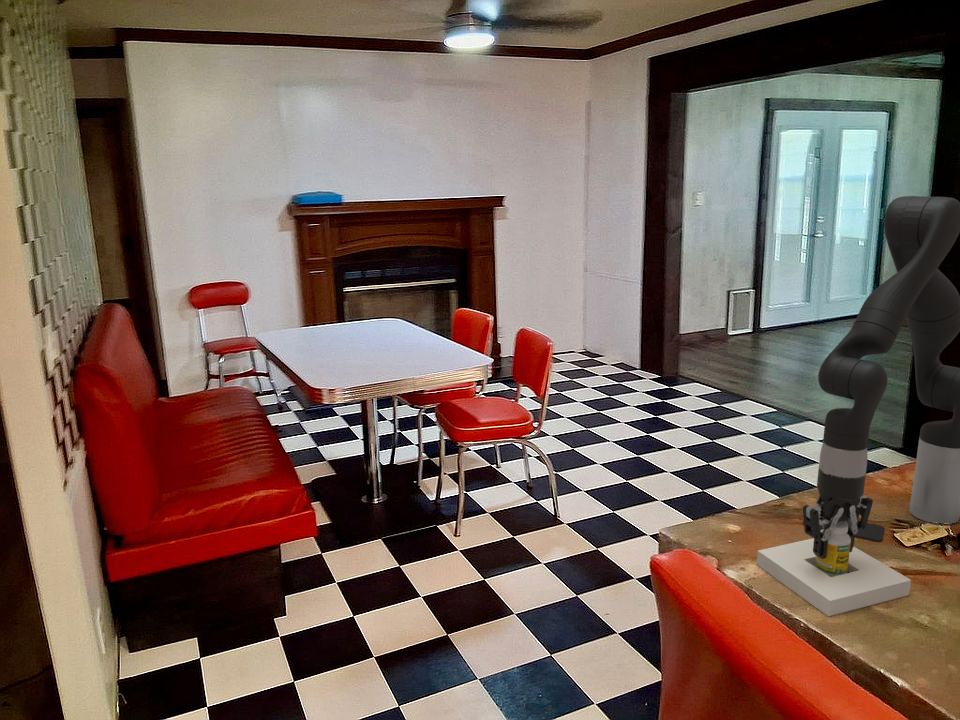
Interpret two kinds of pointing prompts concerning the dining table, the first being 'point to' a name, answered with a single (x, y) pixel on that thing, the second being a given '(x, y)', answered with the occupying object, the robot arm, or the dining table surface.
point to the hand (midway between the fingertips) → (832, 553)
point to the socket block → (833, 578)
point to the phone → (869, 532)
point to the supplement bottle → (836, 551)
